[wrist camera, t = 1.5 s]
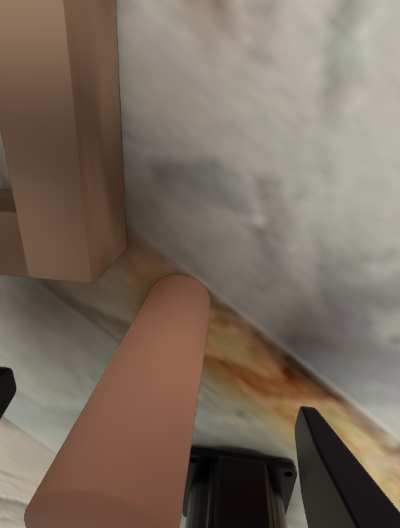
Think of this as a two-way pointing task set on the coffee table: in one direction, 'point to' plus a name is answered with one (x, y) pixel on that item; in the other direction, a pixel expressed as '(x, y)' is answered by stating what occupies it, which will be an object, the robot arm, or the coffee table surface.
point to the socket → (61, 139)
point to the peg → (134, 423)
